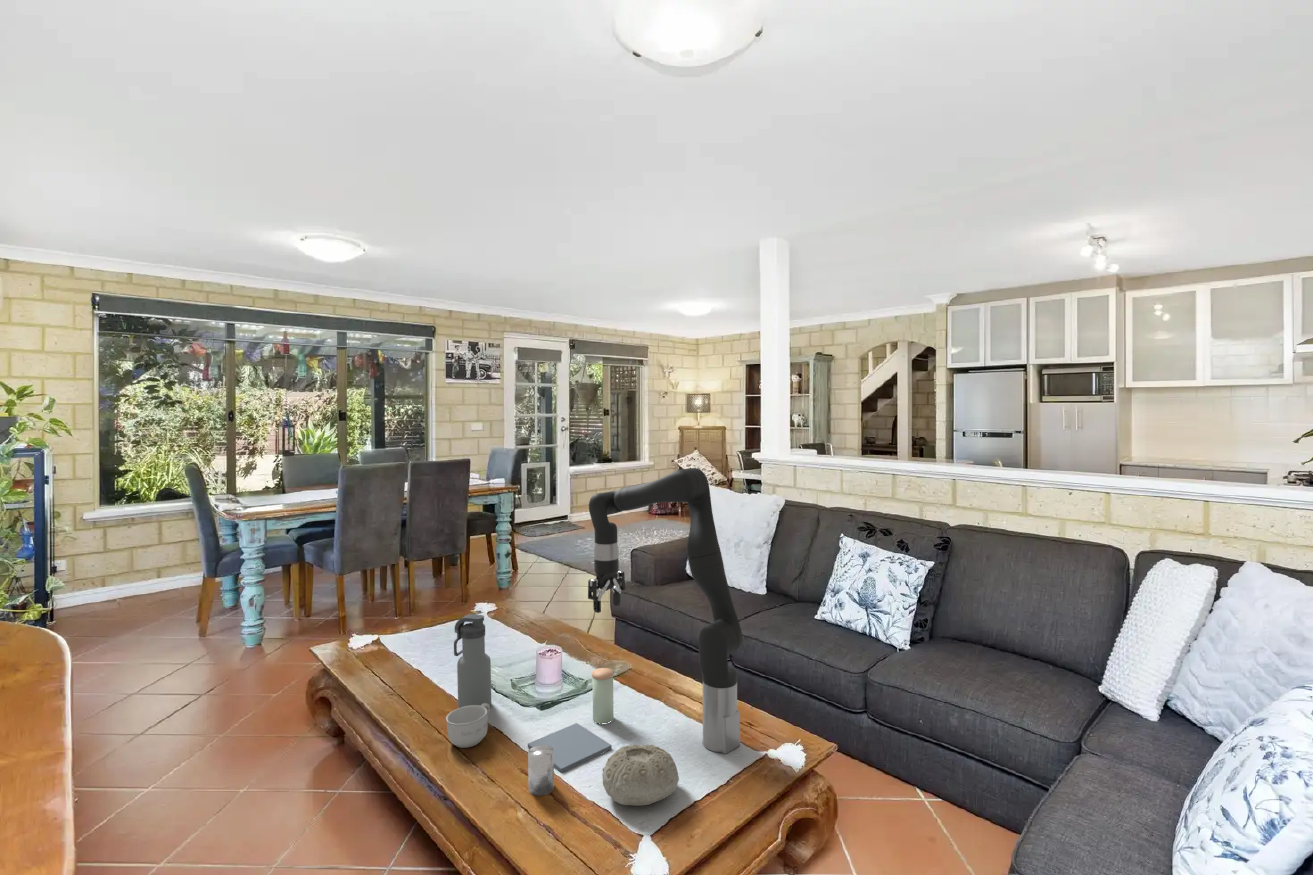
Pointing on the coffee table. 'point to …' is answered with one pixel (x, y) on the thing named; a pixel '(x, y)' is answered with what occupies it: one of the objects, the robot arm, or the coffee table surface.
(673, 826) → the coffee table surface
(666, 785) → the decorative shell
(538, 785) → the steel tin
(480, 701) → the water bottle
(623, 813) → the coffee table surface
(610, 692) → the sage tin
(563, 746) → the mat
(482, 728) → the teacup
